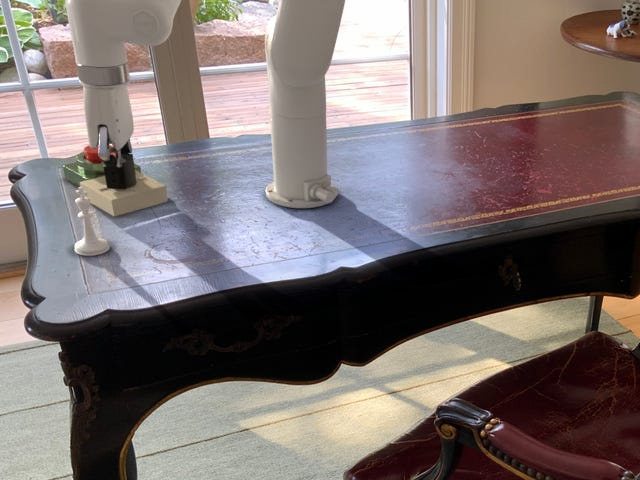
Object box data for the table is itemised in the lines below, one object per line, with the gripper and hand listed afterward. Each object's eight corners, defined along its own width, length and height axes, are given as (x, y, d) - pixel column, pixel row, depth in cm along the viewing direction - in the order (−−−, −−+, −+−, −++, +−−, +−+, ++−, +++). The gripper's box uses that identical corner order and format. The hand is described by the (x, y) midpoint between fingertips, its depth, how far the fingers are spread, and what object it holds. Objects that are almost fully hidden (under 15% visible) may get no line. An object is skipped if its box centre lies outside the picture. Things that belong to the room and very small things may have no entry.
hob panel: (167, 201, 142) (165, 184, 141) (114, 217, 136) (111, 199, 134) (135, 184, 147) (133, 167, 145) (82, 198, 140) (79, 181, 139)
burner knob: (141, 184, 140) (137, 157, 137) (116, 190, 137) (111, 163, 134) (128, 176, 142) (124, 150, 140) (104, 182, 139) (99, 155, 137)
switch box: (117, 167, 153) (113, 143, 151) (142, 180, 149) (139, 156, 147) (65, 179, 147) (60, 155, 144) (90, 193, 142) (85, 169, 140)
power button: (105, 151, 148) (104, 141, 147) (120, 158, 146) (118, 149, 145) (80, 157, 145) (78, 147, 144) (94, 164, 143) (92, 155, 142)
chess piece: (97, 258, 123) (85, 196, 118) (67, 252, 124) (54, 190, 118) (116, 244, 127) (105, 184, 122) (87, 239, 128) (75, 179, 123)
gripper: (94, 58, 136) (112, 163, 146) (61, 86, 122) (83, 201, 132) (141, 61, 137) (156, 165, 147) (114, 89, 123) (132, 202, 133)
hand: (121, 181), depth 139 cm, fingers open, 4 cm apart
